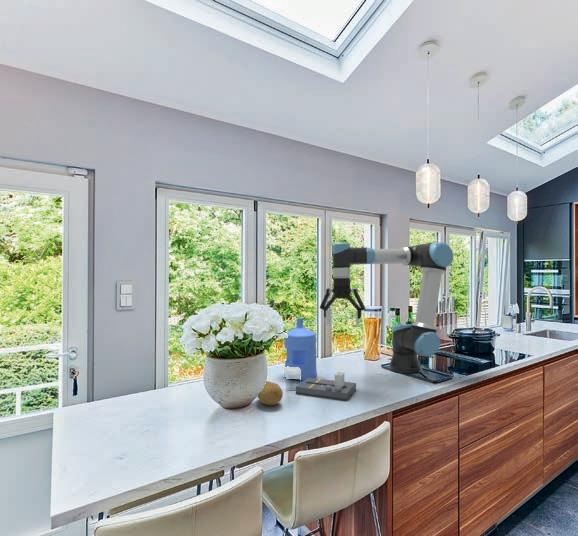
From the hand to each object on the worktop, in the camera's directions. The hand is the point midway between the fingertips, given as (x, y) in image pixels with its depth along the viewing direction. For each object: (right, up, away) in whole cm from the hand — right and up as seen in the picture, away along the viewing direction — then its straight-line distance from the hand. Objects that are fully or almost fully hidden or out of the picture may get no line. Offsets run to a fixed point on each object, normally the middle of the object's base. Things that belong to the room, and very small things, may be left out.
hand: (342, 325), depth 160 cm
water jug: (-18, -28, +16) cm, 37 cm away
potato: (-31, -28, -19) cm, 46 cm away
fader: (-3, -26, -10) cm, 28 cm away
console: (-8, -27, -7) cm, 29 cm away
